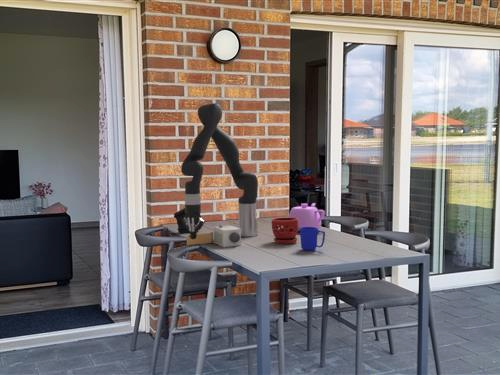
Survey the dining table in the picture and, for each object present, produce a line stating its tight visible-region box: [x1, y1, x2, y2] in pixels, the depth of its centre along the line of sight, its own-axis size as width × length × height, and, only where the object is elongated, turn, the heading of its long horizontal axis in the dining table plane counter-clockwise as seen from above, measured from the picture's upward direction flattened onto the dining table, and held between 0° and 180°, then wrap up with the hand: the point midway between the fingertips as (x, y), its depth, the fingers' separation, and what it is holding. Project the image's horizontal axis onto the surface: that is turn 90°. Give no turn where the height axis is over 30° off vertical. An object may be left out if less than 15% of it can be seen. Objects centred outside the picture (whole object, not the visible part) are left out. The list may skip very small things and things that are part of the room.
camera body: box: [213, 224, 242, 248], centre depth 280 cm, size 9×15×9 cm, turn 25°
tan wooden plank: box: [186, 231, 214, 246], centre depth 282 cm, size 2×14×5 cm, turn 120°
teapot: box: [288, 202, 326, 232], centre depth 320 cm, size 23×21×15 cm
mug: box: [299, 227, 326, 252], centre depth 264 cm, size 8×12×10 cm
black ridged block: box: [173, 207, 199, 234], centre depth 315 cm, size 4×13×15 cm, turn 108°
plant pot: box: [271, 216, 299, 245], centre depth 283 cm, size 13×13×12 cm
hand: (193, 239), depth 275 cm, fingers closed
